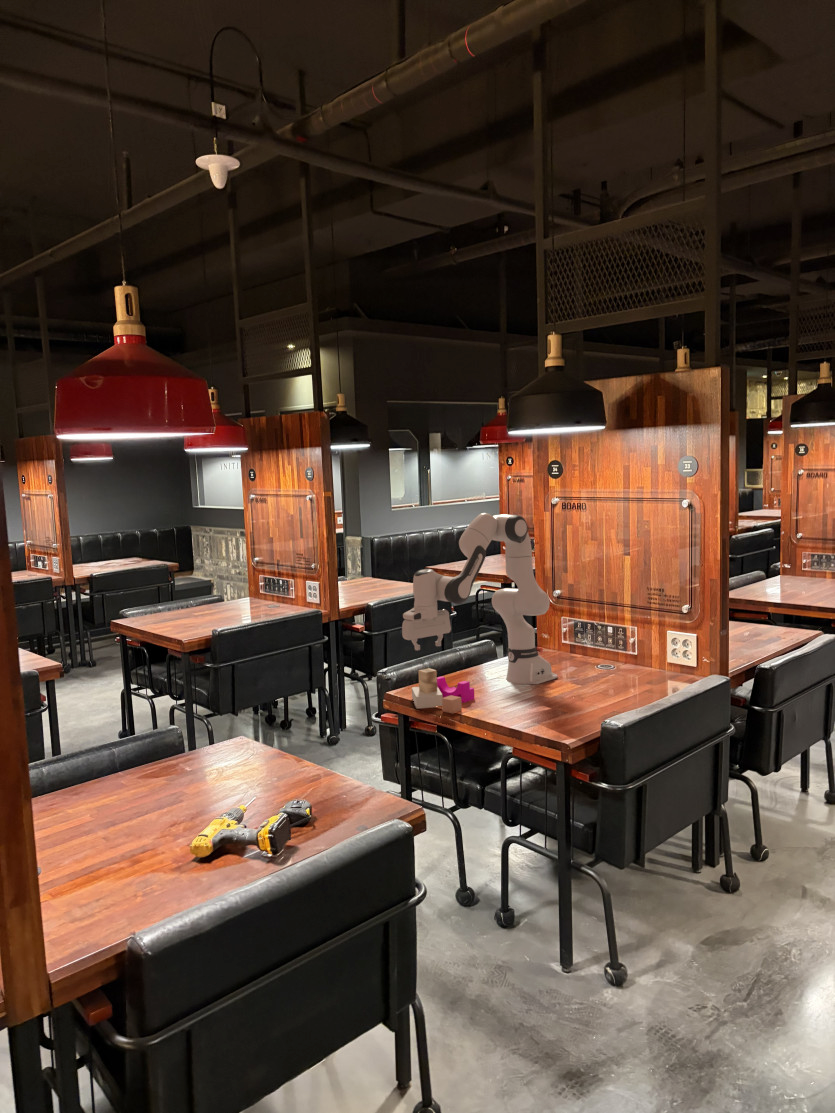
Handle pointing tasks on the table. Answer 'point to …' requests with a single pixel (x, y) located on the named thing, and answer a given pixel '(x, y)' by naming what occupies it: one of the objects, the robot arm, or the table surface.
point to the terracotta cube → (451, 704)
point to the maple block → (427, 680)
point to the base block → (426, 698)
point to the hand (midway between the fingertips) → (427, 647)
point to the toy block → (456, 689)
